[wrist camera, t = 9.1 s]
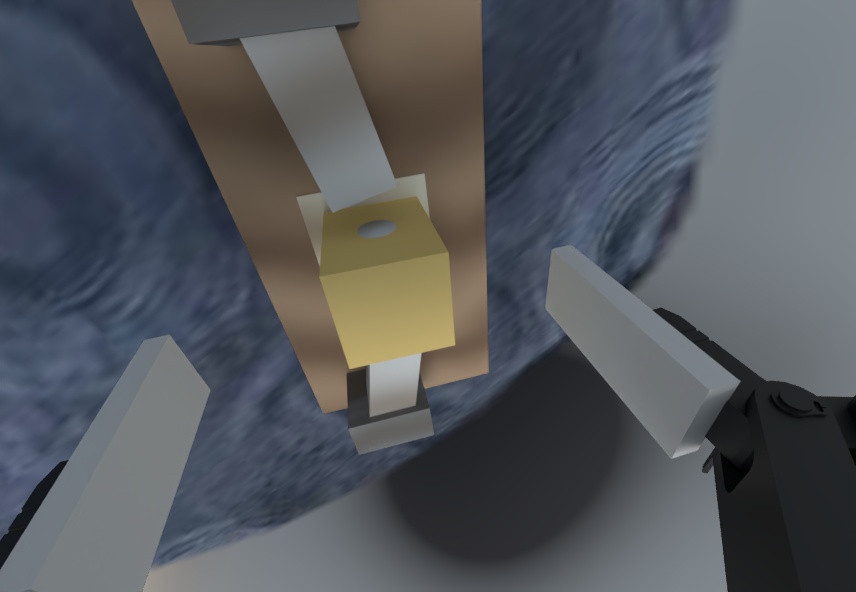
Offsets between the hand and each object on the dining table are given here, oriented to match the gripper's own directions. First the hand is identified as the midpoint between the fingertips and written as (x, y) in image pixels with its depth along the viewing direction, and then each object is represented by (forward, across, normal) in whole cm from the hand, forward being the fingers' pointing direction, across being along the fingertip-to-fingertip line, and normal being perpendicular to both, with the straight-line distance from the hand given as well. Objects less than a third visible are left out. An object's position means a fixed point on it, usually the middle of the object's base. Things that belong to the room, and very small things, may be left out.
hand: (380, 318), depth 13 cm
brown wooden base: (+8, 0, 0) cm, 8 cm away
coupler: (+7, +1, 0) cm, 7 cm away
